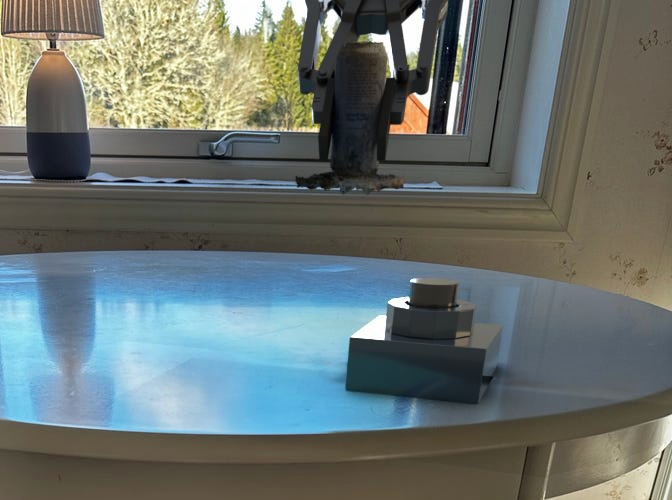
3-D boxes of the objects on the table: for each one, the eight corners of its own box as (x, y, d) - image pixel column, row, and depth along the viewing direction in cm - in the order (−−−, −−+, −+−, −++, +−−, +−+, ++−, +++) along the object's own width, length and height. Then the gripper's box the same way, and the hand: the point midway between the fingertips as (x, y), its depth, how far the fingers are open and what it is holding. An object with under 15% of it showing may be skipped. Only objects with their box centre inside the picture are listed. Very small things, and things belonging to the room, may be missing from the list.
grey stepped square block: (495, 375, 78) (507, 298, 75) (477, 404, 70) (490, 319, 67) (374, 363, 81) (381, 289, 78) (344, 390, 73) (351, 309, 70)
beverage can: (346, 196, 85) (359, 36, 79) (289, 191, 90) (298, 41, 84) (417, 193, 89) (435, 42, 83) (359, 188, 95) (372, 46, 89)
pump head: (458, 307, 74) (462, 279, 73) (451, 315, 71) (455, 286, 70) (412, 304, 75) (415, 276, 74) (403, 311, 72) (406, 282, 71)
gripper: (474, -16, 92) (449, 182, 86) (294, -12, 96) (259, 178, 90) (483, -95, 85) (457, 114, 79) (289, -87, 89) (250, 113, 83)
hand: (352, 148), depth 85 cm, fingers closed on beverage can, 4 cm apart
